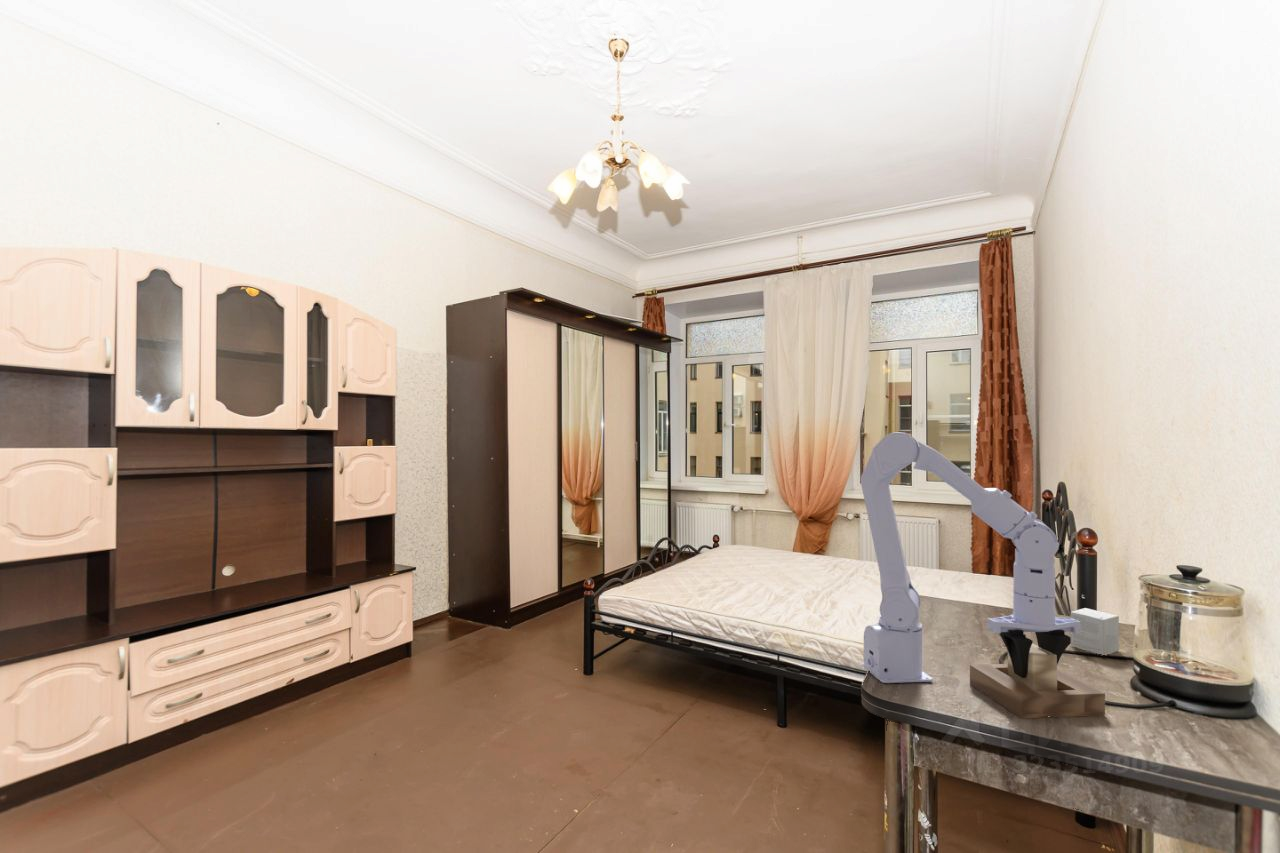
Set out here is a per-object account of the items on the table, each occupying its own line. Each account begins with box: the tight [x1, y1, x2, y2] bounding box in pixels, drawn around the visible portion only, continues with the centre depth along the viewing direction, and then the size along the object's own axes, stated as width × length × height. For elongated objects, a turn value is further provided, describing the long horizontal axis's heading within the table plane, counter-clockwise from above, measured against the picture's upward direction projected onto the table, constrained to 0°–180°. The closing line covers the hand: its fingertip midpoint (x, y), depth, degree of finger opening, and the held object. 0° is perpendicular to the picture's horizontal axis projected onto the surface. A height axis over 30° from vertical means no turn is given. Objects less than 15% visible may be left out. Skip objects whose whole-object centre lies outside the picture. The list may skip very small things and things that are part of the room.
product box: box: [1069, 607, 1120, 656], centre depth 117 cm, size 6×6×7 cm
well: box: [969, 663, 1106, 719], centre depth 95 cm, size 14×12×3 cm
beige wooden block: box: [1007, 643, 1058, 691], centre depth 95 cm, size 4×6×6 cm, turn 2°
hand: (1033, 675), depth 95 cm, fingers closed on beige wooden block, 4 cm apart
